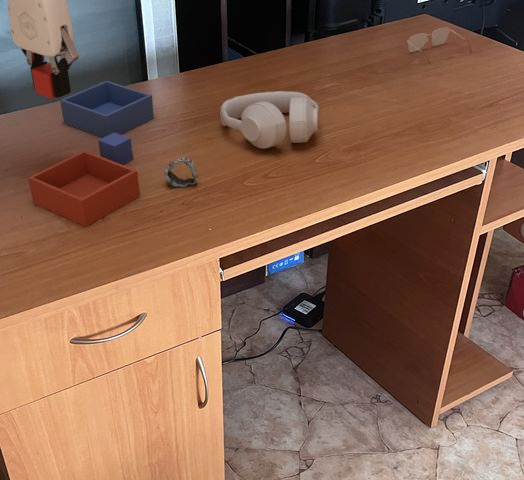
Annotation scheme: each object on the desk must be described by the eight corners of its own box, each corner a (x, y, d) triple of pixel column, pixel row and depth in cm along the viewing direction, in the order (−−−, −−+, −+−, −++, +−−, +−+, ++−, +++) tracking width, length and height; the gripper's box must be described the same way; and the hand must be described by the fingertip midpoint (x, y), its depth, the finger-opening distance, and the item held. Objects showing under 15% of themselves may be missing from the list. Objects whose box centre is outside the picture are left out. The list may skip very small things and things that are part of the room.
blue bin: (63, 123, 151) (59, 100, 148) (109, 102, 158) (106, 80, 155) (109, 140, 145) (106, 116, 142) (154, 118, 153) (151, 95, 150)
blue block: (100, 161, 139) (98, 140, 136) (117, 153, 141) (114, 132, 139) (117, 167, 137) (114, 146, 134) (133, 159, 139) (130, 138, 137)
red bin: (33, 203, 127) (27, 177, 124) (88, 174, 135) (84, 149, 132) (85, 226, 122) (81, 200, 119) (140, 195, 129) (137, 170, 126)
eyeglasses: (448, 42, 186) (451, 25, 183) (472, 54, 182) (476, 37, 179) (404, 53, 180) (407, 36, 177) (428, 67, 176) (431, 49, 173)
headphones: (338, 144, 143) (299, 116, 159) (339, 101, 138) (298, 76, 154) (242, 159, 138) (211, 128, 154) (239, 114, 134) (208, 87, 150)
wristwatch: (183, 187, 135) (162, 167, 132) (204, 170, 132) (183, 150, 129) (181, 197, 132) (159, 178, 130) (202, 181, 130) (180, 161, 127)
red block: (35, 93, 130) (31, 69, 128) (53, 85, 133) (49, 62, 130) (52, 99, 129) (48, 74, 126) (70, 91, 131) (66, 67, 129)
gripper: (-22, -32, 120) (1, 86, 132) (53, -11, 113) (71, 111, 125) (16, -41, 125) (35, 73, 137) (91, -22, 117) (105, 97, 129)
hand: (52, 90), depth 130 cm, fingers closed on red block, 4 cm apart
